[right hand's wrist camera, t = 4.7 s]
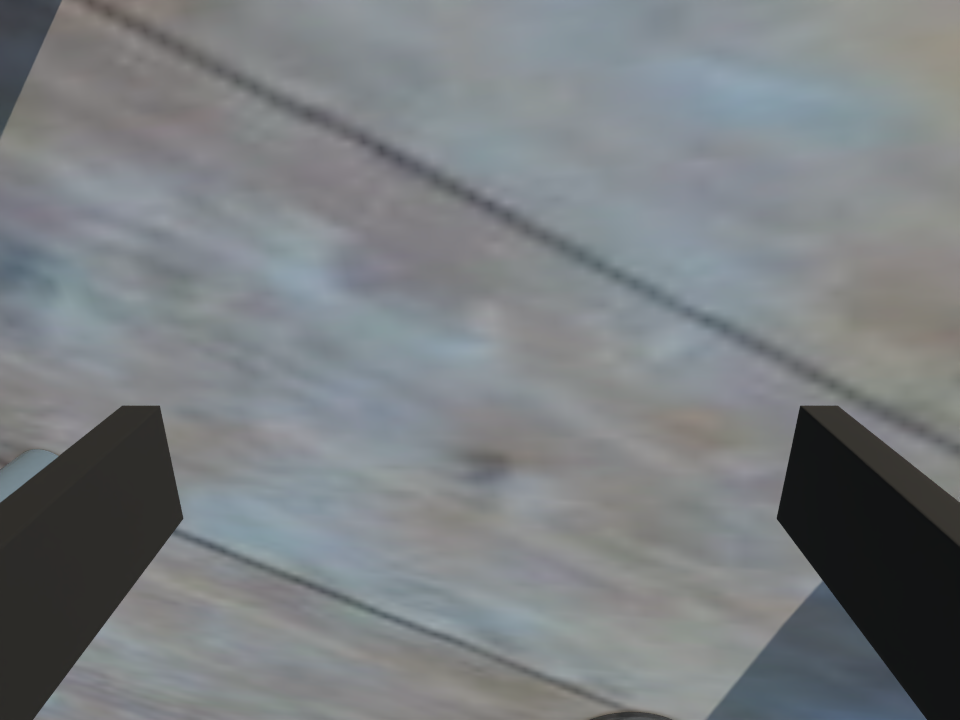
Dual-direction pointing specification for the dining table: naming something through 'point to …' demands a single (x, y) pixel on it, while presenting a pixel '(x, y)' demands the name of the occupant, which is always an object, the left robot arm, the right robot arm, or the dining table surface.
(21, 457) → the bottle
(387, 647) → the dining table surface
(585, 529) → the dining table surface
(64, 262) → the dining table surface
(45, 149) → the dining table surface
